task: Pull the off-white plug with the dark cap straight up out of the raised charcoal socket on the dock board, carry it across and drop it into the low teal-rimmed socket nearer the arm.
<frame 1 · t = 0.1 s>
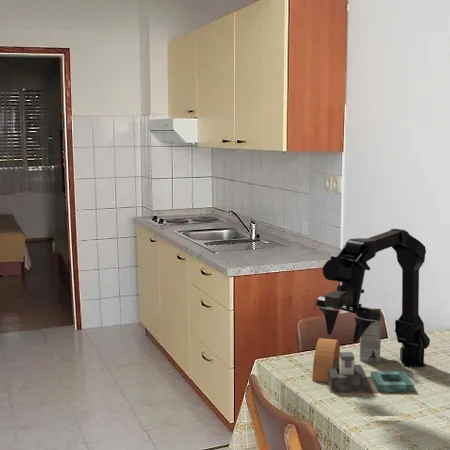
hand: (341, 338, 175), 15 cm above the table, tool pointing down, fingers open, 9 cm apart
dock: (368, 387, 179), on the table
arch: (326, 372, 191), on the table, touching dock
coffee box: (369, 360, 202), on the table
plug: (346, 384, 179), point 1 cm above the table, touching dock
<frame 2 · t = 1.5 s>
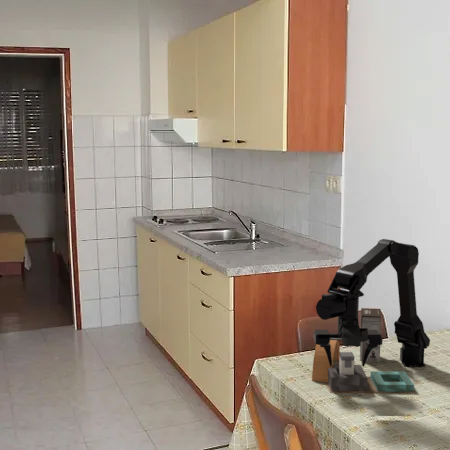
hand: (346, 366, 179), 6 cm above the table, tool pointing down, fingers open, 9 cm apart
nothing on the table moved.
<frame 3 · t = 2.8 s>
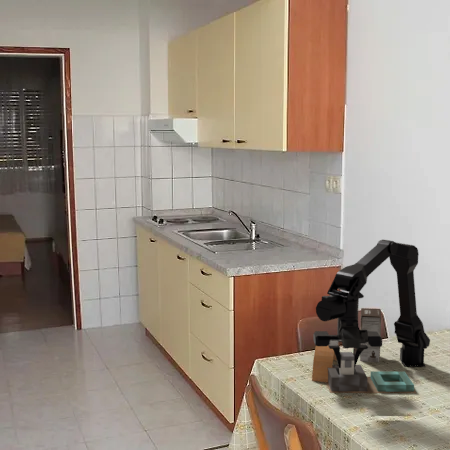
hand: (346, 367, 179), 6 cm above the table, tool pointing down, fingers closed on plug, 4 cm apart
plug: (346, 384, 179), point 1 cm above the table, touching dock, gripper
everything else where it was.
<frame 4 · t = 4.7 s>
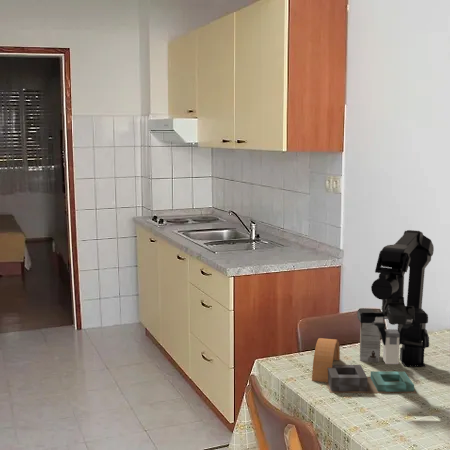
hand: (391, 344, 177), 13 cm above the table, tool pointing down, fingers closed on plug, 4 cm apart
plug: (390, 361, 178), point 8 cm above the table, touching gripper
everything else where it was.
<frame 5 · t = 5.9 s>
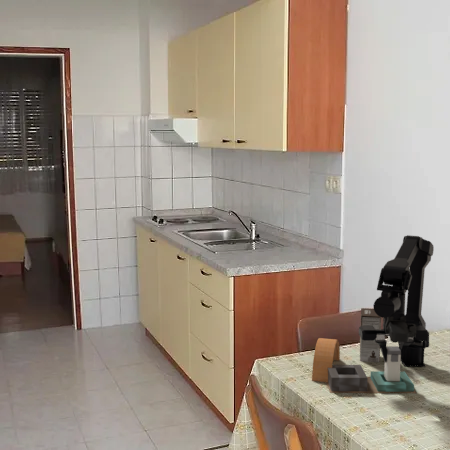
hand: (392, 361, 178), 8 cm above the table, tool pointing down, fingers closed on plug, 4 cm apart
plug: (391, 378, 179), point 3 cm above the table, touching gripper
everything else where it was.
when the fingers open (7 cm above the table, at t = 6.8 s): plug stays where it is, resting on dock.
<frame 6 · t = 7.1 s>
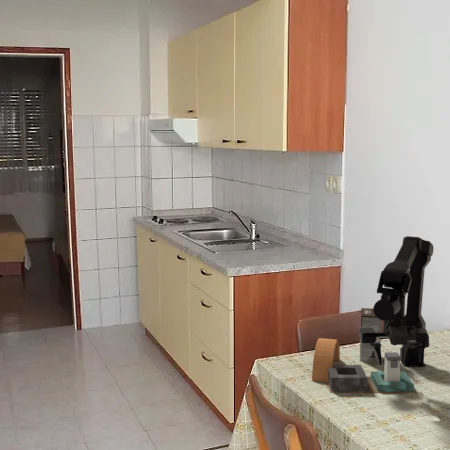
hand: (392, 364, 178), 7 cm above the table, tool pointing down, fingers open, 7 cm apart
plug: (391, 384, 179), point 1 cm above the table, touching dock
everything else where it was.
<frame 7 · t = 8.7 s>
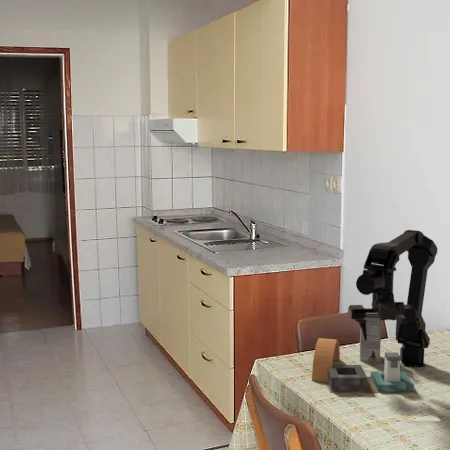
hand: (381, 340, 181), 13 cm above the table, tool pointing down, fingers open, 9 cm apart
nothing on the table moved.
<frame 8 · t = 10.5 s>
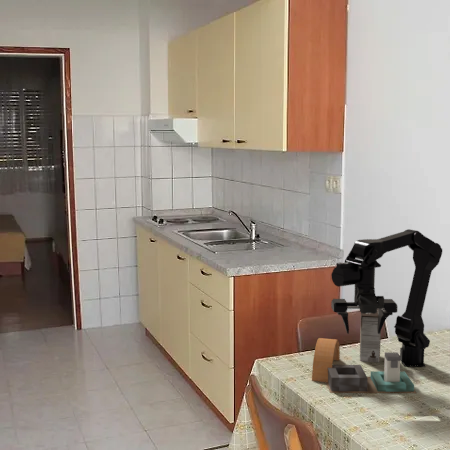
hand: (363, 333, 187), 13 cm above the table, tool pointing down, fingers open, 9 cm apart
nothing on the table moved.
at the end: plug 0.0 cm from the target spot on the dock, point 1.0 cm above the dock's base; plug tilted 0°; the gripper is holding nothing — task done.
